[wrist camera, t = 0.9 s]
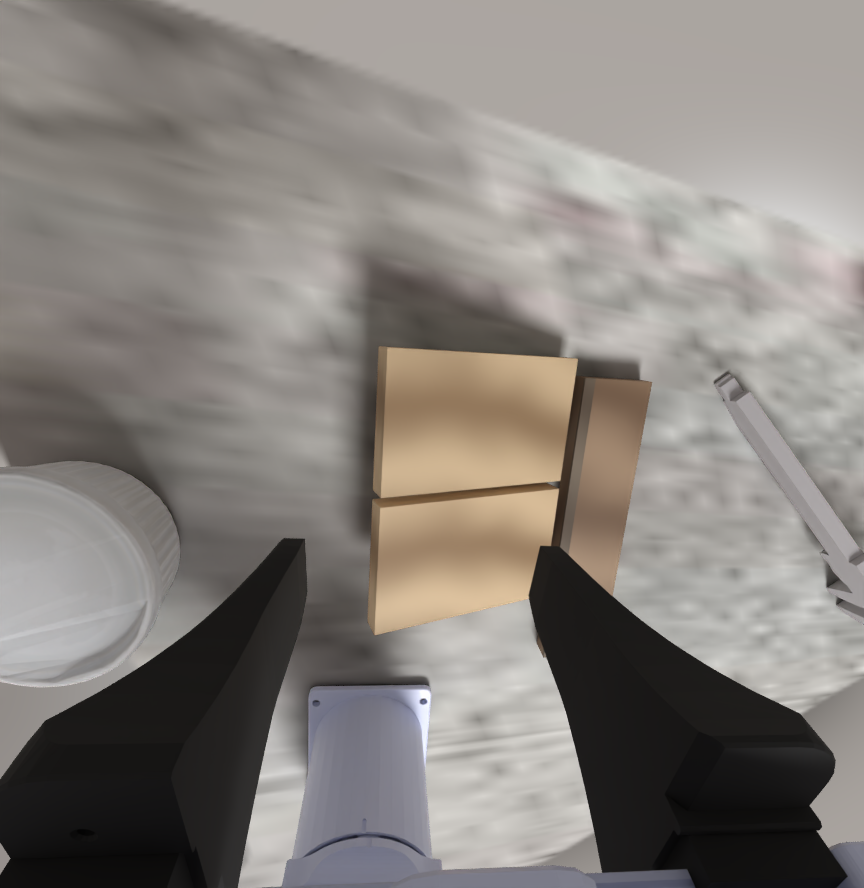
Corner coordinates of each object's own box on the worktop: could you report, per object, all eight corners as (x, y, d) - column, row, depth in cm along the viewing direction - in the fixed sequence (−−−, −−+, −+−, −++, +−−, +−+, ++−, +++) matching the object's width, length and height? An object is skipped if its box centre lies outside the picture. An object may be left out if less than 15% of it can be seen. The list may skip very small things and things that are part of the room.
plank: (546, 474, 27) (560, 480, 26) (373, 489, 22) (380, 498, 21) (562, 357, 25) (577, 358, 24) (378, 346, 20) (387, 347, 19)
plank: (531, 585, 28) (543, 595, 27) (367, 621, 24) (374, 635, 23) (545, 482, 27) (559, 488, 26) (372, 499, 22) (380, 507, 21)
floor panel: (593, 643, 30) (602, 656, 29) (536, 643, 30) (543, 657, 28) (640, 380, 26) (653, 382, 25) (575, 375, 25) (585, 377, 24)
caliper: (847, 599, 32) (956, 661, 26) (834, 607, 32) (939, 671, 26) (723, 372, 27) (822, 382, 21) (708, 383, 27) (802, 397, 21)
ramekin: (122, 655, 27) (60, 729, 22) (-52, 544, 25) (-168, 599, 19) (240, 532, 26) (203, 580, 21) (71, 402, 23) (-19, 420, 18)
